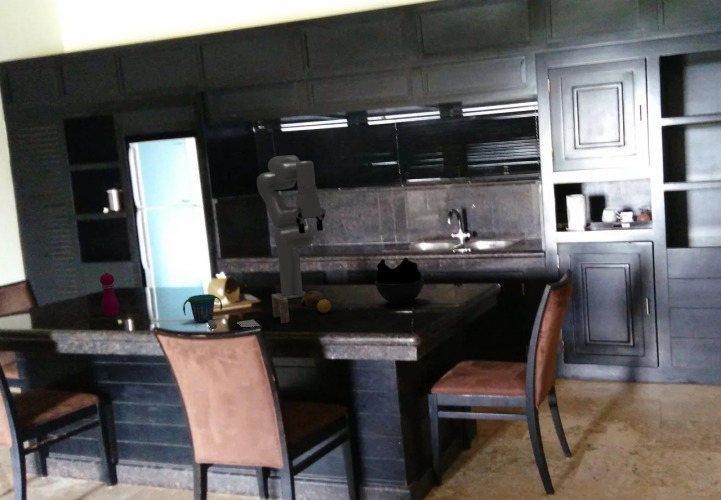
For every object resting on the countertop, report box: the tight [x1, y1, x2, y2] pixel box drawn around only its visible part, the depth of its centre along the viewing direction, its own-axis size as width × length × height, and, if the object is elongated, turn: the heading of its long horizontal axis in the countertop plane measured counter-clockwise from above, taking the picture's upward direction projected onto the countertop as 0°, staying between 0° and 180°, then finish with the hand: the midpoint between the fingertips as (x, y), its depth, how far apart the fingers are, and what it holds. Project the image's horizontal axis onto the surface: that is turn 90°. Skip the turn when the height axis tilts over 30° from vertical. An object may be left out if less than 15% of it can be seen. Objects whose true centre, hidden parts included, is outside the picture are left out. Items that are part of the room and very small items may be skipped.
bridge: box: [271, 292, 290, 324], centre depth 303 cm, size 3×14×9 cm, turn 19°
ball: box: [316, 299, 332, 314], centre depth 309 cm, size 6×6×6 cm
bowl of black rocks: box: [374, 257, 425, 305], centre depth 314 cm, size 20×20×19 cm
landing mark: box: [237, 319, 261, 328], centre depth 298 cm, size 12×12×1 cm
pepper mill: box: [99, 269, 120, 317], centre depth 338 cm, size 7×7×20 cm
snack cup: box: [182, 293, 223, 323], centre depth 310 cm, size 16×10×10 cm
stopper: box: [207, 319, 218, 330], centre depth 296 cm, size 9×2×2 cm, turn 19°
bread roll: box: [301, 290, 327, 308], centre depth 327 cm, size 10×10×8 cm
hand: (311, 231), depth 318 cm, fingers open, 9 cm apart
